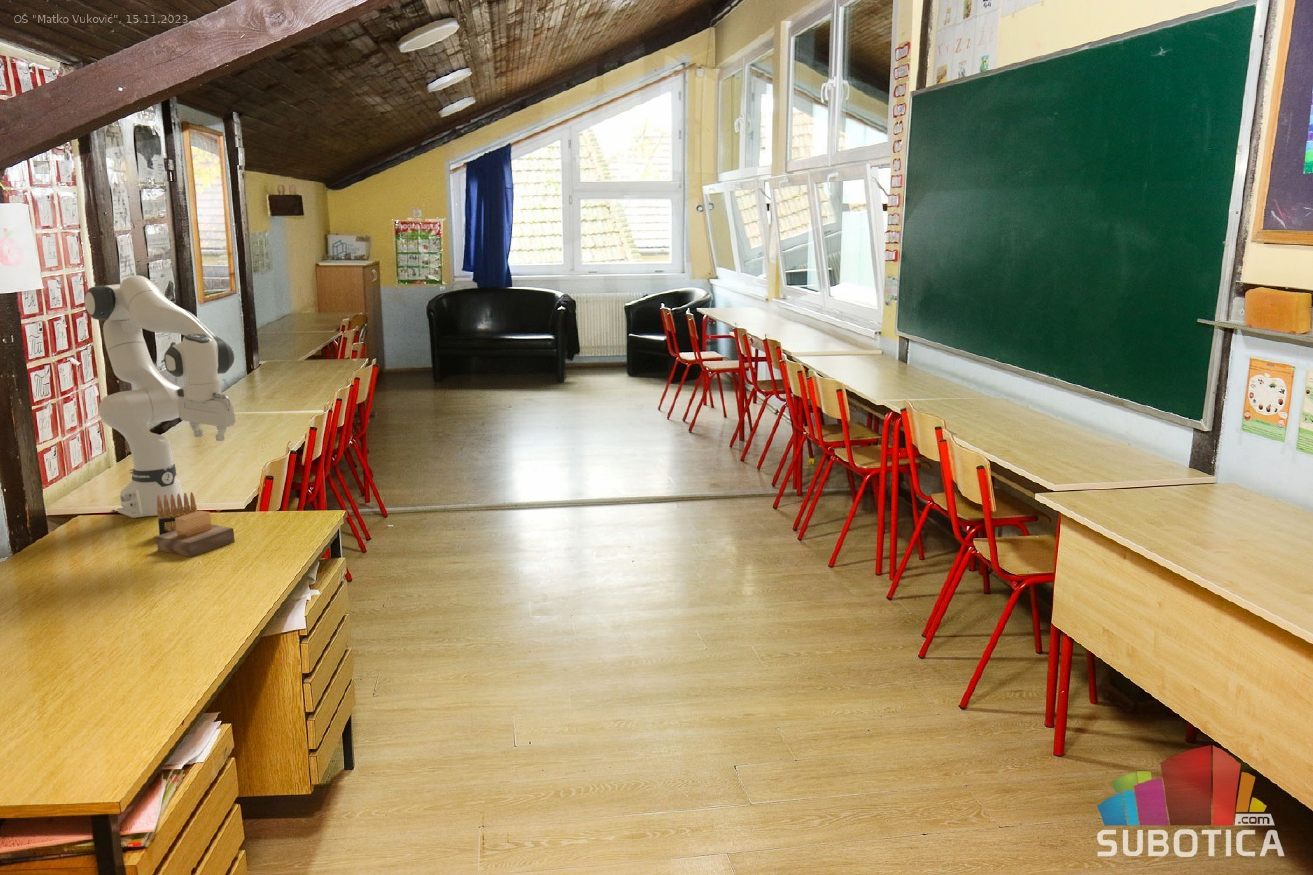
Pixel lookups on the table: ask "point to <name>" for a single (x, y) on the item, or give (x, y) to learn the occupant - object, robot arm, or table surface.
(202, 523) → the light brown wooden block
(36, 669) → the table surface
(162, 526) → the ammunition clip
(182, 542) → the walnut stand
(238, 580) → the table surface
